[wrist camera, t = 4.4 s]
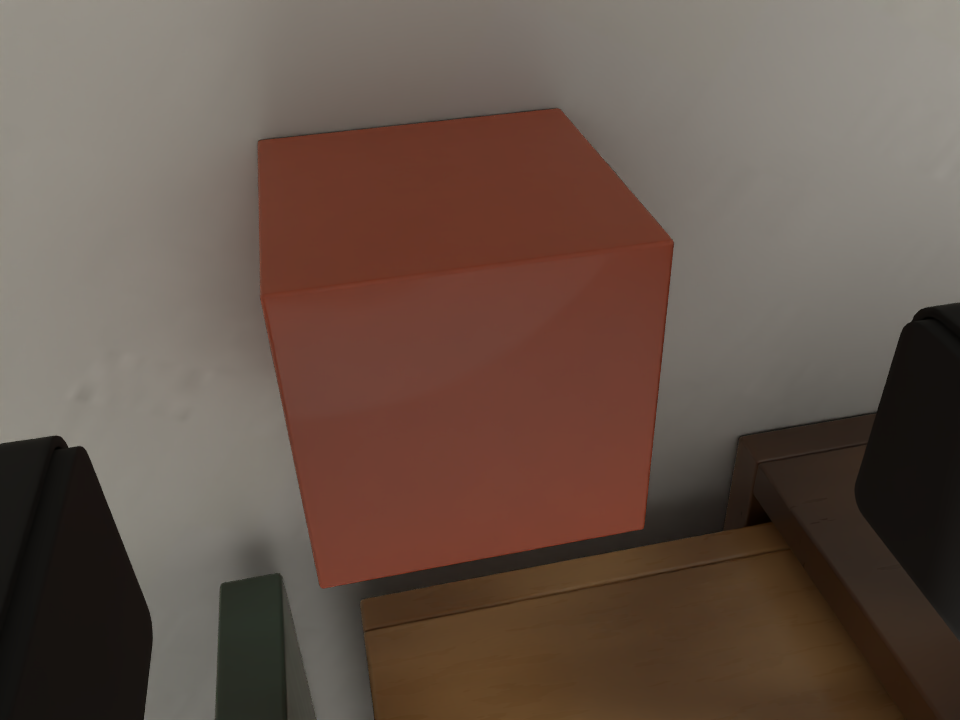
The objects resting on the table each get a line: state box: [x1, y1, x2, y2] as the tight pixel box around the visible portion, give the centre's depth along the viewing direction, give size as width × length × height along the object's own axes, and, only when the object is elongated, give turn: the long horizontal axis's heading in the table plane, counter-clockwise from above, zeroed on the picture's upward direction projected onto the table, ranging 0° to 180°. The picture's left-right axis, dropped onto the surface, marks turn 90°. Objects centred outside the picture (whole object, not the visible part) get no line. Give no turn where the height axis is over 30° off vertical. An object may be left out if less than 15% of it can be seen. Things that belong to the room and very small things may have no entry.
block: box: [258, 108, 674, 588], centre depth 13 cm, size 5×5×5 cm
